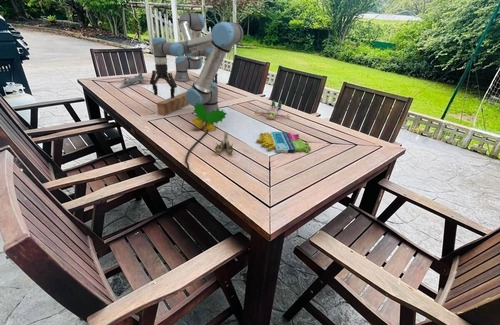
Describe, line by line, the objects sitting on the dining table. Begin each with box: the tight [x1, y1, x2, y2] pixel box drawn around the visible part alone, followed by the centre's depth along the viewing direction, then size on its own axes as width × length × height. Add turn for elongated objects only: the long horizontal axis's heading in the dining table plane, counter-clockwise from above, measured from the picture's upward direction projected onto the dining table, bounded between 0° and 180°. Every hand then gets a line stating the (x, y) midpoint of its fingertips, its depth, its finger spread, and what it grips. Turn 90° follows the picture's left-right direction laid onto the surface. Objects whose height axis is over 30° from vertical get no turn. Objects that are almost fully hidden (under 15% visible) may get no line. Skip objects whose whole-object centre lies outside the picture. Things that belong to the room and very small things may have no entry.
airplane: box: [119, 68, 151, 89], centre depth 248 cm, size 38×31×10 cm
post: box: [156, 91, 190, 116], centre depth 211 cm, size 77×5×8 cm, turn 159°
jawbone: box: [214, 131, 234, 156], centre depth 136 cm, size 9×15×10 cm
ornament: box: [191, 102, 228, 132], centre depth 162 cm, size 21×8×15 cm, turn 105°
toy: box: [253, 99, 292, 120], centre depth 196 cm, size 28×7×30 cm
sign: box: [256, 131, 312, 154], centre depth 152 cm, size 26×2×30 cm
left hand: (210, 91), depth 240 cm, fingers closed on post, 5 cm apart
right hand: (164, 96), depth 180 cm, fingers open, 13 cm apart
